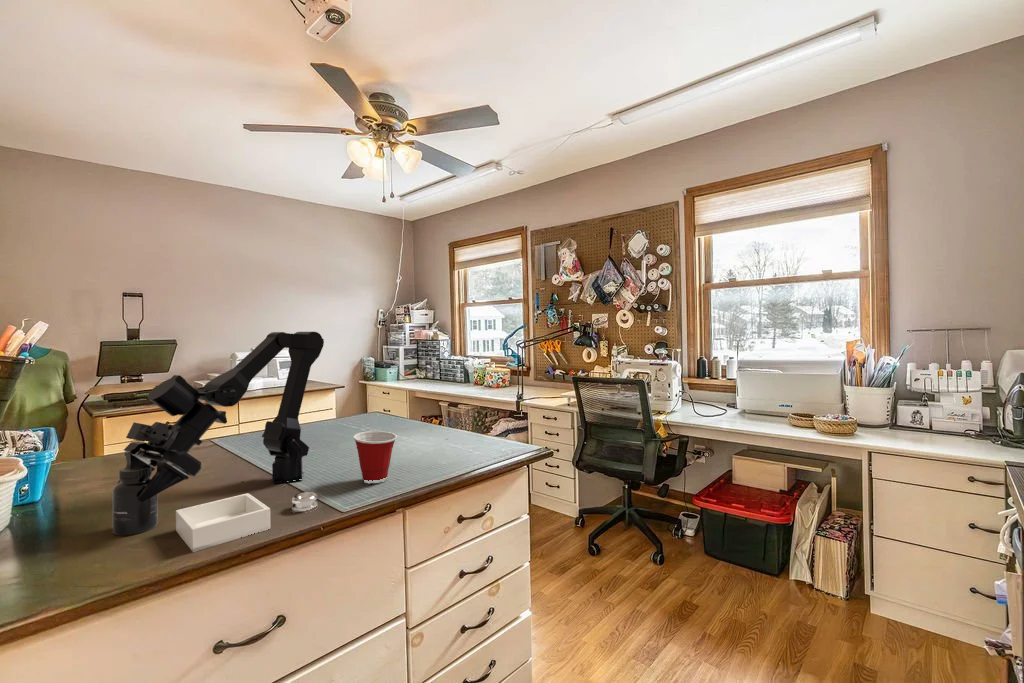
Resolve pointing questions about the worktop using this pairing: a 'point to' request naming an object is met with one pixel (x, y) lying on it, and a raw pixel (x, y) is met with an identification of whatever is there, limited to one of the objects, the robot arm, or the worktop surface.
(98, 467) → the worktop surface
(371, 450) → the plastic cup
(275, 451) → the robot arm
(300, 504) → the grooved metal pulley
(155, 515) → the supplement bottle
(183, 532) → the bin
